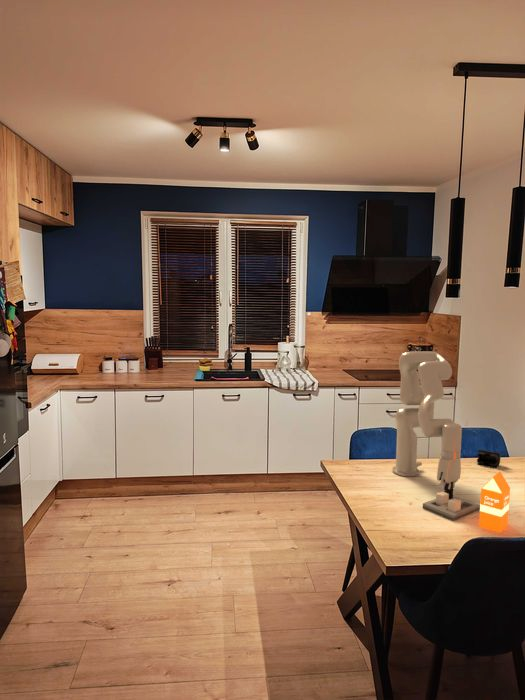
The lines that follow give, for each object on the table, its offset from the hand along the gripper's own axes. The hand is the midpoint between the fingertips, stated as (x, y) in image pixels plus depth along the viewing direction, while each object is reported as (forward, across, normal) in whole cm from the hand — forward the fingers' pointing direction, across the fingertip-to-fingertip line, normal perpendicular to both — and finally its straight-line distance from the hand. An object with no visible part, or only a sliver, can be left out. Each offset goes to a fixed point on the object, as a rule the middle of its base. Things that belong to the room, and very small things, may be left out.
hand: (448, 497), depth 209 cm
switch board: (+3, +3, +3) cm, 5 cm away
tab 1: (+2, +4, 0) cm, 4 cm away
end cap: (+3, -60, -18) cm, 63 cm away
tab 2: (+2, +6, +7) cm, 10 cm away
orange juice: (+3, +3, +21) cm, 22 cm away
